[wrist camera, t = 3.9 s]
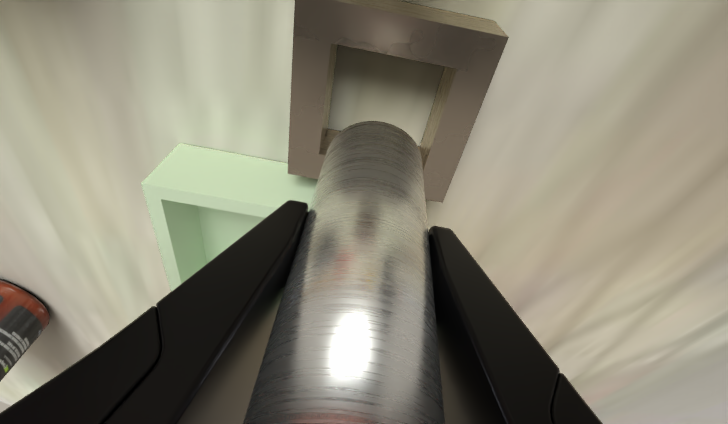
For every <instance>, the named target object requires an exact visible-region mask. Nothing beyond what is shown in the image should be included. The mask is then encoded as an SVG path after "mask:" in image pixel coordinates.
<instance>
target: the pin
mask: <svg viewBox="0 0 728 424" xmlns="http://www.w3.org/2000/svg"><path fill="white" fill-rule="evenodd" d="M243 424H445V418H444V407H443V395H442V384H441V373H440V361H439V350H438V339H437V327H436V316H435V304H434V293H433V282H432V270H431V259H430V248H429V236H428V225H427V214H426V202H425V191H424V180H423V168H422V158H421V153H420V151H419V148H418V146H417V145H416V143H415V141H414V140H413V139H412V138H411V137H410V136H409V135H408V134H407V133H406V132H405V131H403V130H402V129H400V128H398V127H396V126H394V125H391V124H389V123H385V122H379V121H366V122H360V123H356V124H353V125H351V126H349V127H347V128H345V129H343V130H342V131H341V132H339V133H338V134H337V135H336V136H335V137H334V139H333V140H332V141H331V143H330V145H329V147H328V150H327V152H326V156H325V159H324V162H323V165H322V169H321V172H320V175H319V178H318V182H317V185H316V188H315V191H314V195H313V198H312V201H311V204H310V207H309V211H308V215H307V218H306V221H305V224H304V227H303V231H302V234H301V237H300V240H299V244H298V247H297V250H296V253H295V257H294V260H293V263H292V266H291V269H290V272H289V276H288V279H287V282H286V285H285V288H284V292H283V295H282V298H281V301H280V305H279V308H278V311H277V314H276V318H275V321H274V324H273V327H272V331H271V334H270V337H269V340H268V344H267V347H266V350H265V353H264V357H263V360H262V363H261V366H260V369H259V373H258V376H257V379H256V382H255V386H254V389H253V392H252V395H251V399H250V402H249V405H248V408H247V412H246V415H245V418H244V421H243Z"/></svg>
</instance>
